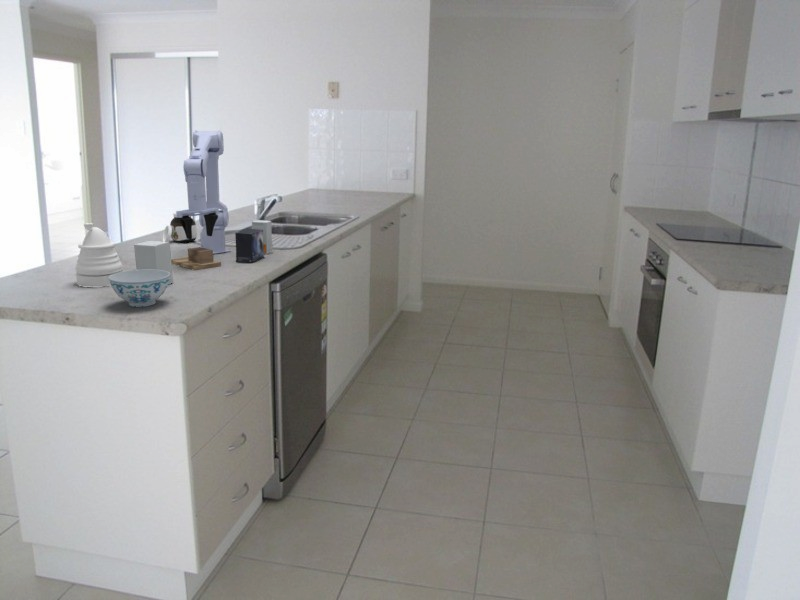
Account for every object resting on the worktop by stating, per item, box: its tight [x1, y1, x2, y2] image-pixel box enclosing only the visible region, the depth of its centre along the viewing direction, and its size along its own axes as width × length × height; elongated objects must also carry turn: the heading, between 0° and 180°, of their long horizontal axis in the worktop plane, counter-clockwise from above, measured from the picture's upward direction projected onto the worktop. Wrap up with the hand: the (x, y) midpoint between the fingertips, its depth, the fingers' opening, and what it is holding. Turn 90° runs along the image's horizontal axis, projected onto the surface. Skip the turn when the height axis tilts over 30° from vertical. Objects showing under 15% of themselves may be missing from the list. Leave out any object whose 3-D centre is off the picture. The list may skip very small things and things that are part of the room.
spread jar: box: [162, 212, 198, 244], centre depth 265 cm, size 12×11×12 cm
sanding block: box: [187, 246, 214, 265], centre depth 222 cm, size 8×4×4 cm, turn 48°
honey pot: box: [75, 222, 124, 287], centre depth 196 cm, size 13×13×18 cm
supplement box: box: [133, 240, 174, 285], centre depth 195 cm, size 7×7×13 cm
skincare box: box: [251, 219, 273, 255], centre depth 245 cm, size 6×4×12 cm
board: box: [171, 256, 222, 271], centre depth 225 cm, size 16×10×1 cm, turn 48°
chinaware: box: [109, 269, 170, 308], centre depth 175 cm, size 15×15×8 cm
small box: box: [234, 228, 265, 264], centre depth 233 cm, size 11×6×10 cm, turn 169°
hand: (199, 237), depth 220 cm, fingers open, 7 cm apart
